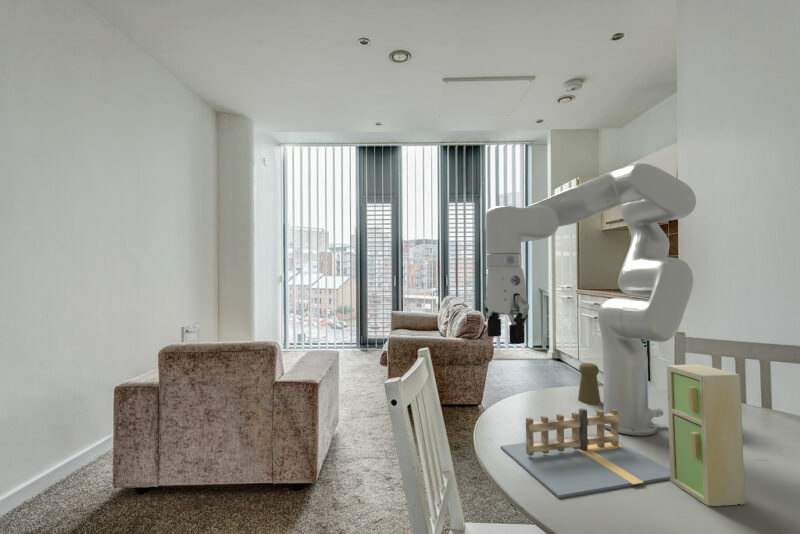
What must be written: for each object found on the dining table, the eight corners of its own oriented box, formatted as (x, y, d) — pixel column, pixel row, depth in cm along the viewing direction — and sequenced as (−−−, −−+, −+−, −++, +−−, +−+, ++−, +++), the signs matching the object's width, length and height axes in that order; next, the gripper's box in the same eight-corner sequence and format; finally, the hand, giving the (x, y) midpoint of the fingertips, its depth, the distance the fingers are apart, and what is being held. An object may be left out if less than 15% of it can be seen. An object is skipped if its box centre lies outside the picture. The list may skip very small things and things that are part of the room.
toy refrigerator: (664, 480, 69) (662, 364, 69) (702, 479, 69) (700, 363, 70) (703, 507, 61) (701, 376, 61) (745, 505, 61) (743, 374, 62)
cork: (603, 405, 109) (603, 366, 109) (581, 403, 110) (580, 365, 110) (597, 398, 114) (596, 361, 115) (575, 397, 116) (575, 360, 116)
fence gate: (576, 446, 80) (576, 412, 80) (580, 449, 79) (580, 414, 79) (526, 453, 77) (525, 417, 77) (529, 456, 76) (529, 419, 76)
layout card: (601, 435, 88) (601, 432, 88) (682, 478, 69) (682, 475, 69) (500, 448, 82) (500, 445, 82) (560, 500, 63) (560, 496, 63)
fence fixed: (614, 445, 83) (613, 405, 83) (620, 448, 81) (619, 407, 81) (577, 450, 80) (577, 408, 81) (582, 454, 79) (582, 411, 79)
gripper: (542, 261, 77) (543, 345, 76) (499, 263, 93) (500, 333, 93) (509, 261, 75) (510, 348, 74) (471, 263, 92) (472, 334, 91)
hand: (505, 339), depth 84 cm, fingers open, 9 cm apart
